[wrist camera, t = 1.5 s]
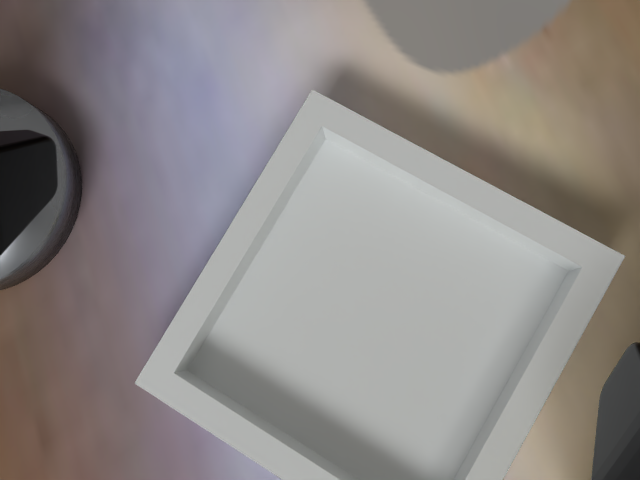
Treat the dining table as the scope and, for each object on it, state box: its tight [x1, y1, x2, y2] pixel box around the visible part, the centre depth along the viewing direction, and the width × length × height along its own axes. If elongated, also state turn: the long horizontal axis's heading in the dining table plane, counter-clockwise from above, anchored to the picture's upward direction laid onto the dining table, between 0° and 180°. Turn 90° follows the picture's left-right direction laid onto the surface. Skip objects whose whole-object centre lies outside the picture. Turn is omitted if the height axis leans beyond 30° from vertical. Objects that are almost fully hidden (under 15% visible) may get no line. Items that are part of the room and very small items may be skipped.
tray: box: [135, 90, 625, 480], centre depth 22 cm, size 12×12×2 cm
